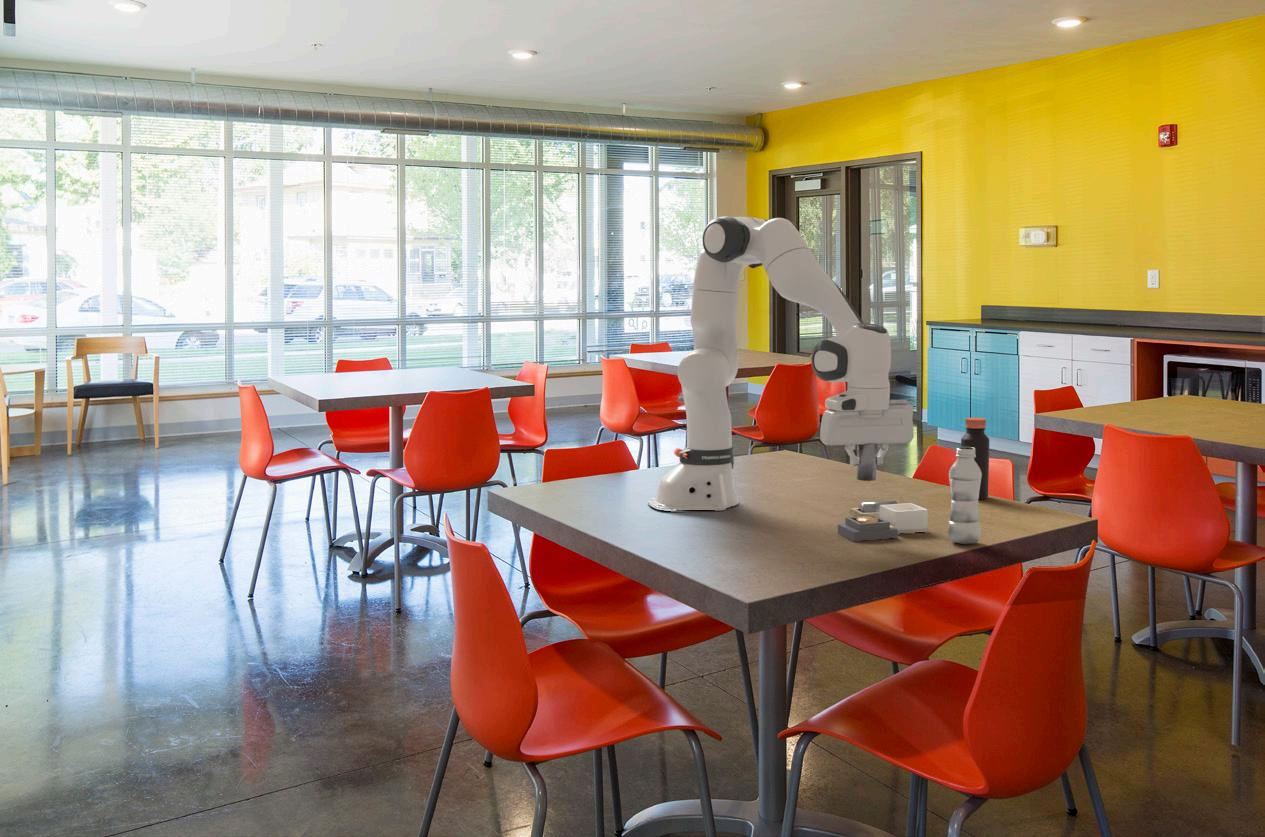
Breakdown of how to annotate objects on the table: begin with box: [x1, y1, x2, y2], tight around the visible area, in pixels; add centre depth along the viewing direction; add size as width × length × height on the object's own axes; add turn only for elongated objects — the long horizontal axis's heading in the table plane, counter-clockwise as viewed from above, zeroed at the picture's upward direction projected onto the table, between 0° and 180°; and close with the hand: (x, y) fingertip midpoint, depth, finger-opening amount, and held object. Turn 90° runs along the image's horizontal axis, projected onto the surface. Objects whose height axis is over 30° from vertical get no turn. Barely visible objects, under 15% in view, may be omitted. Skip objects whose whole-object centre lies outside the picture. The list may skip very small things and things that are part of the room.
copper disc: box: [856, 517, 878, 523], centre depth 228 cm, size 5×5×1 cm
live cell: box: [857, 500, 898, 513], centre depth 240 cm, size 9×4×4 cm, turn 103°
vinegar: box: [960, 417, 990, 500], centre depth 266 cm, size 7×7×20 cm
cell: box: [856, 443, 878, 482], centre depth 226 cm, size 4×4×9 cm
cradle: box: [837, 516, 898, 542], centre depth 228 cm, size 10×8×4 cm
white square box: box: [880, 502, 929, 535], centre depth 233 cm, size 8×8×5 cm
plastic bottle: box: [947, 446, 982, 545], centre depth 219 cm, size 6×7×20 cm
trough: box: [849, 507, 880, 517], centre depth 240 cm, size 11×6×3 cm, turn 103°
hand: (866, 464), depth 226 cm, fingers closed on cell, 4 cm apart
